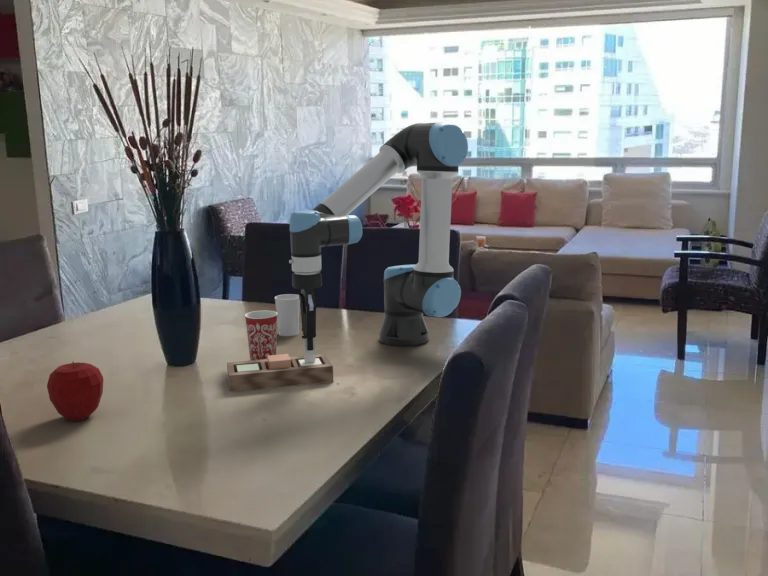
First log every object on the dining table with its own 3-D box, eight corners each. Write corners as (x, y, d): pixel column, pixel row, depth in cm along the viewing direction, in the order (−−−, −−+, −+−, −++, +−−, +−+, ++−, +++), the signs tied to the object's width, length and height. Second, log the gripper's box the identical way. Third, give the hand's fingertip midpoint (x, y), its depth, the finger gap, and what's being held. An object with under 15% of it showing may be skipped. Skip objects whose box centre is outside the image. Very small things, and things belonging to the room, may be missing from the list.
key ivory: (319, 371, 198) (318, 358, 197) (322, 377, 193) (322, 364, 192) (298, 372, 197) (298, 359, 196) (301, 379, 191) (301, 365, 191)
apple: (115, 417, 169) (110, 360, 166) (63, 431, 161) (57, 372, 158) (93, 404, 177) (87, 350, 175) (42, 417, 169) (36, 361, 167)
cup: (297, 337, 233) (296, 299, 231) (273, 336, 234) (271, 299, 232) (304, 330, 241) (302, 294, 238) (280, 330, 242) (278, 293, 239)
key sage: (258, 376, 194) (257, 363, 193) (260, 383, 189) (259, 369, 188) (237, 378, 193) (236, 365, 192) (238, 385, 188) (237, 371, 187)
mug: (276, 365, 205) (274, 317, 202) (244, 365, 205) (241, 318, 203) (284, 352, 217) (282, 307, 215) (253, 352, 218) (251, 307, 215)
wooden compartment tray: (325, 368, 201) (325, 354, 200) (333, 381, 191) (332, 366, 190) (227, 378, 195) (226, 362, 194) (229, 391, 184) (228, 375, 184)
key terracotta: (288, 366, 196) (288, 353, 195) (291, 373, 190) (290, 359, 190) (268, 368, 194) (267, 355, 194) (270, 375, 189) (269, 361, 188)
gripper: (288, 268, 194) (292, 355, 199) (295, 277, 182) (299, 369, 187) (317, 266, 196) (320, 352, 201) (325, 275, 184) (328, 367, 189)
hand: (309, 361), depth 194 cm, fingers closed
